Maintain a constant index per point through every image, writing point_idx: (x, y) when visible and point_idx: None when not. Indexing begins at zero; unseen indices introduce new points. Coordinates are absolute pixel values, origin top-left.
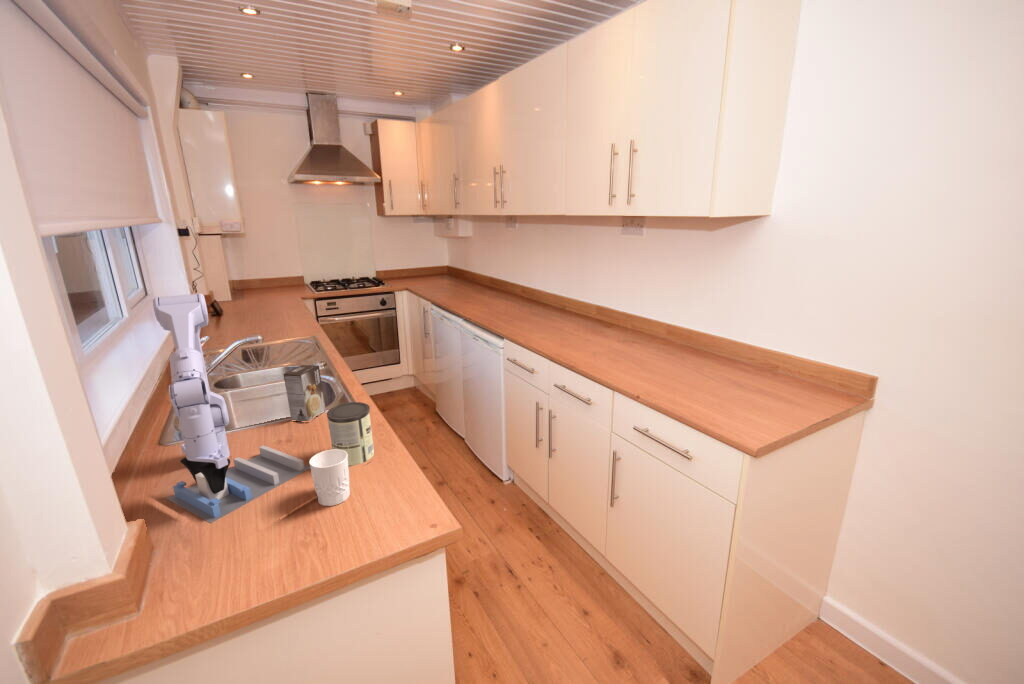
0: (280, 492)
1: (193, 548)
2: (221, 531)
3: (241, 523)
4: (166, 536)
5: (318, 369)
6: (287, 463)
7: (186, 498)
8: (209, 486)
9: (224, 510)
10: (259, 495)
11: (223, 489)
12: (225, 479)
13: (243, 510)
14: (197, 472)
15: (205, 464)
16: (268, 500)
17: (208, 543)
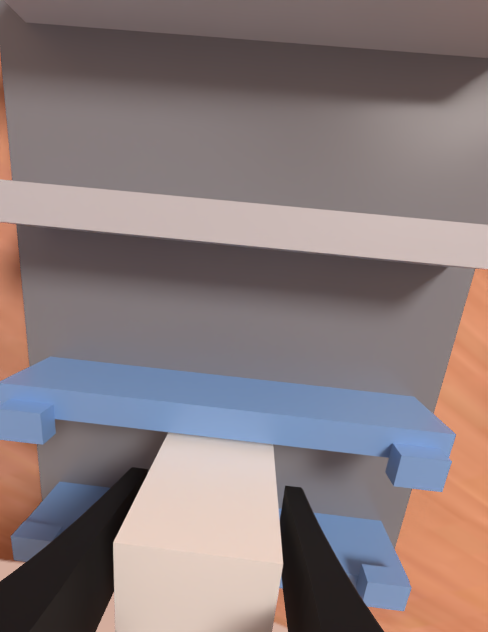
0: (484, 278)
1: (419, 616)
2: (439, 544)
3: (479, 495)
4: None
5: None
6: (368, 26)
7: None
8: (286, 600)
9: (369, 498)
10: (439, 369)
11: (303, 491)
12: (275, 487)
13: None
14: (86, 623)
15: (53, 624)
16: (473, 351)
17: (449, 591)
